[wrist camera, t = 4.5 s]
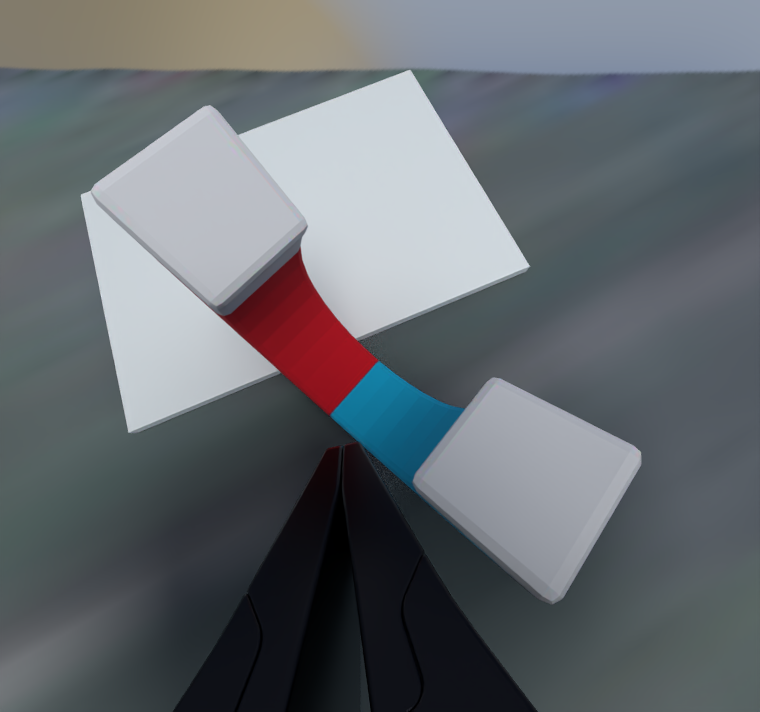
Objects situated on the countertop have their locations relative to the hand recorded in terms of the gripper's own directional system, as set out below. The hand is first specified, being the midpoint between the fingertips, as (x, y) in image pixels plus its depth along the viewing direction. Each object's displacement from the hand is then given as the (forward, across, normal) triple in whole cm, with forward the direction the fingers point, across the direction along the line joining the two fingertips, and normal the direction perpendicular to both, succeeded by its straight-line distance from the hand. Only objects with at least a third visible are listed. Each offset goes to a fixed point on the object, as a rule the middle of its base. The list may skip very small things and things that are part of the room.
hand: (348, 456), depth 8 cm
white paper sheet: (+13, +2, -4) cm, 14 cm away
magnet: (+6, 0, +3) cm, 7 cm away
